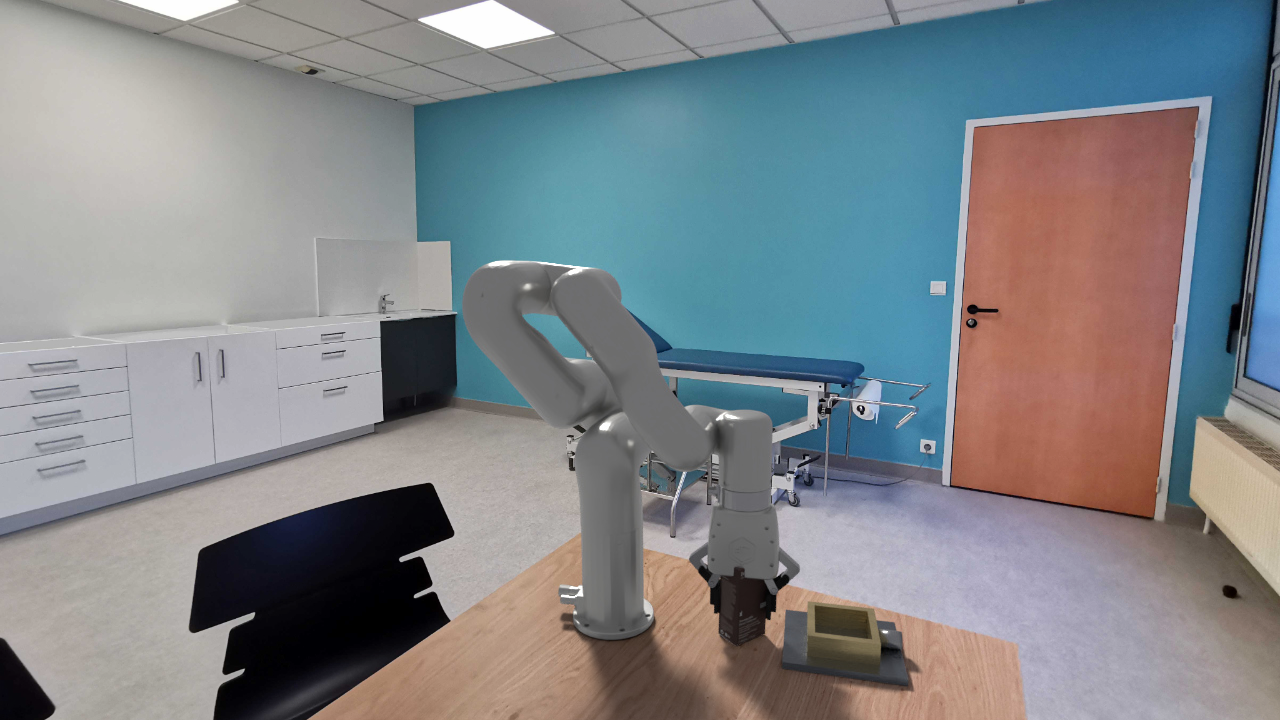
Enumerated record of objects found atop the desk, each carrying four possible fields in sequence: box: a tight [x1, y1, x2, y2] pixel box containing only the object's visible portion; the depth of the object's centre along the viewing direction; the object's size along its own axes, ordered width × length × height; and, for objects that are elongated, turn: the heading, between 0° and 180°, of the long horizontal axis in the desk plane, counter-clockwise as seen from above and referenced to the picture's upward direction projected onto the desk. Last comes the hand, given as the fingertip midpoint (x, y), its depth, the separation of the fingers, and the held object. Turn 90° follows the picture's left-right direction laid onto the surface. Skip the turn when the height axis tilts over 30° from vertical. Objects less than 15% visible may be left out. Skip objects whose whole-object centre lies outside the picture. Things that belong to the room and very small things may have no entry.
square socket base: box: [781, 600, 909, 687], centre depth 93 cm, size 16×14×4 cm
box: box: [717, 567, 767, 647], centre depth 96 cm, size 6×4×12 cm
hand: (742, 611), depth 96 cm, fingers closed on box, 6 cm apart
